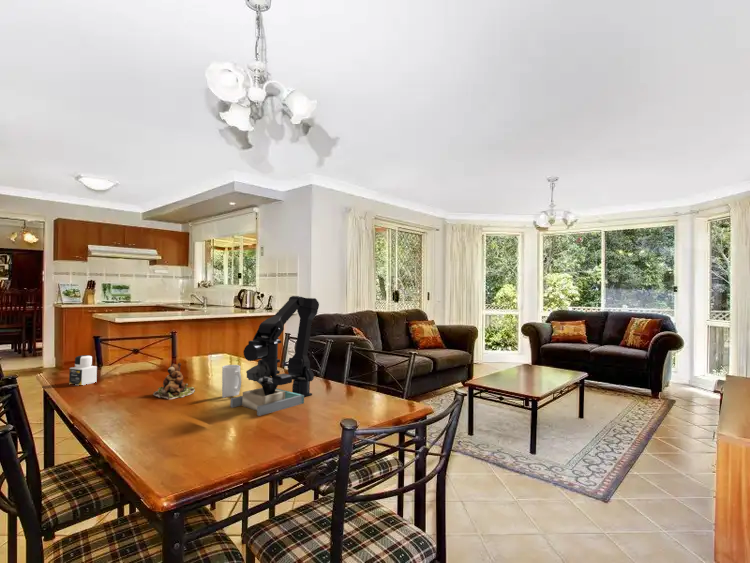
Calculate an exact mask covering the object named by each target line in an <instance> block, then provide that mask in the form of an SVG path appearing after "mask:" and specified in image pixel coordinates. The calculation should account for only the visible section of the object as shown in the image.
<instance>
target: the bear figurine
mask: <svg viewBox="0 0 750 563" xmlns="http://www.w3.org/2000/svg"><path fill="white" fill-rule="evenodd" d="M181 366H182V363H181V362H178V363H177V364H176V363H174V362H173V363H172V364H171V365H170V367H168V369H167V373H168V375H166V377H164V379H163V383H162V385H163V386H159V387H157V388H158V389H157V391H156V390H155V391H153V394H152V395H153V396H155V397H157V398H160V399H161V398H164V399H167V400H174V399H177V398H184V397H185V396H190V395H192V394H194V392H196V391H195V387H194V386H188V385H189V384H188V383H185V382H184V376H183V374H182V372H181Z"/></svg>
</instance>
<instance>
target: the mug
mask: <svg viewBox="0 0 750 563" xmlns="http://www.w3.org/2000/svg"><path fill="white" fill-rule="evenodd" d="M221 368H222V371H221V373H222V374H221V378H222V379H221V380H222V381H221V382H222V384H221V385H222V387H221V388H222V389H221V391H222V392H221V393H222V394H221V395H222V396H221V398H223V399H224V398H228V397H237V396H238V395H239V396H240V392H241V388H242V375H241V365H238V364H227V365H223V366H222V367H221Z"/></svg>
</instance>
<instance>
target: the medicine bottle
mask: <svg viewBox="0 0 750 563" xmlns="http://www.w3.org/2000/svg"><path fill="white" fill-rule="evenodd" d="M74 358H75V359H74V367H73V366H72V367H69V372H68V373H69V375H68V376H69V377H68V384H69V385H70V384H75V385H74V386H79V385H83V386H86V384H87V385H91V384H94V383H95V382H96V383H97V379H98V378H97V377H98V376H97V375H98V374H97V373H98V366H96V365H93V356H92V355H89V354H88V355H87V354H84V355H83V354H81V355H77V356H76V357H74ZM96 383H95V384H96Z"/></svg>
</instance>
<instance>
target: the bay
mask: <svg viewBox="0 0 750 563" xmlns="http://www.w3.org/2000/svg"><path fill="white" fill-rule="evenodd" d="M276 390H280V391H284V392H285V399H283V400H280V401H276V402H272V403H268V404H264V405H261V406H257V411H256V415H257V416H258V417H261V416H264V415H268V414H270V413H271V414H272V413H275V412H278V411H282V410H285V409H289V408H292V407H296V406H299V405H302V404H305V397H304V395H301V394H297V393H293V392H292V391H290V390H284V389H280V388H278V387H277V388H276ZM242 400H243V395H239V396H234V397H230V404H229V405H230V408H232V409H233V408H236V407H240V406H242Z"/></svg>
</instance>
